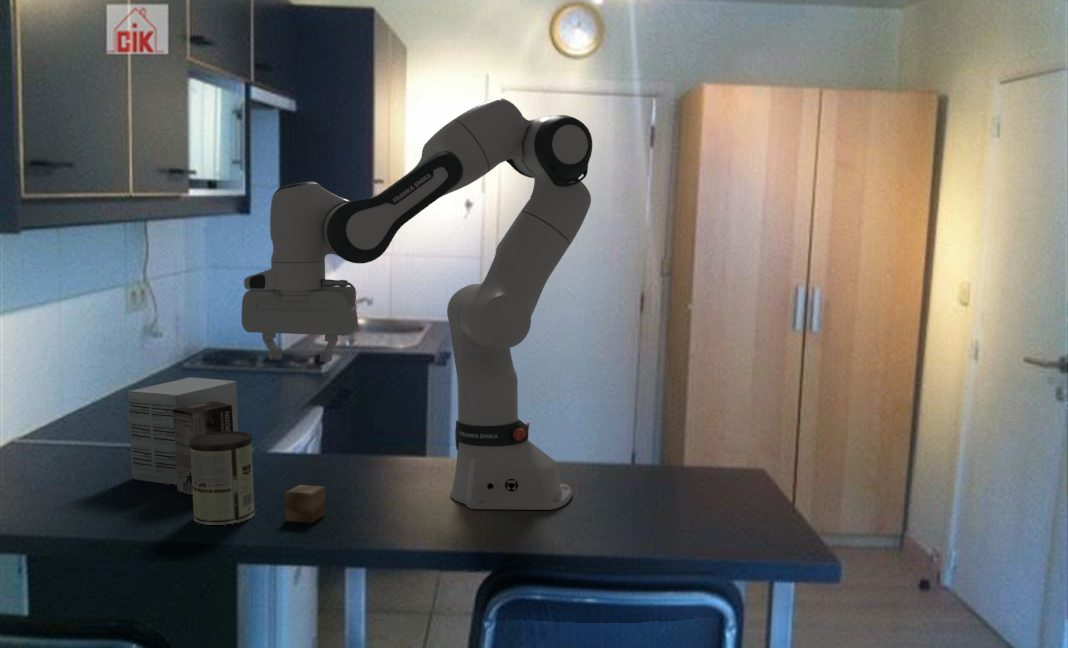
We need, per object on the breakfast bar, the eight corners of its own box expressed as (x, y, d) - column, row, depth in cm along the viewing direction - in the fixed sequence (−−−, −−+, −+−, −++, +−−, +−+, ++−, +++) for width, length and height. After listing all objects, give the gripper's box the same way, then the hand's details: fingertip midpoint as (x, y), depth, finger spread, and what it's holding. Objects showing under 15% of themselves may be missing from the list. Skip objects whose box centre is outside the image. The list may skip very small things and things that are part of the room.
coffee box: (216, 481, 191) (212, 400, 189) (237, 486, 187) (233, 404, 185) (175, 491, 183) (171, 408, 181) (196, 497, 180) (192, 411, 178)
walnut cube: (325, 514, 169) (324, 486, 168) (312, 523, 164) (311, 494, 163) (299, 512, 170) (298, 484, 169) (285, 521, 165) (284, 492, 165)
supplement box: (193, 459, 208) (189, 376, 206) (241, 465, 202) (238, 380, 200) (129, 479, 192) (124, 389, 190) (179, 486, 187) (175, 394, 185)
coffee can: (198, 510, 172) (194, 432, 170) (258, 506, 173) (255, 429, 172) (187, 528, 162) (183, 445, 160) (251, 524, 163) (248, 442, 162)
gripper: (363, 278, 163) (364, 359, 165) (255, 276, 168) (257, 355, 170) (347, 281, 157) (348, 365, 159) (235, 279, 162) (237, 360, 164)
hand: (300, 360), depth 164 cm, fingers open, 8 cm apart
